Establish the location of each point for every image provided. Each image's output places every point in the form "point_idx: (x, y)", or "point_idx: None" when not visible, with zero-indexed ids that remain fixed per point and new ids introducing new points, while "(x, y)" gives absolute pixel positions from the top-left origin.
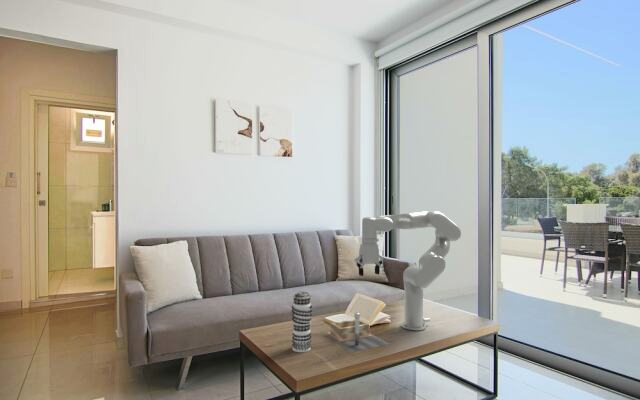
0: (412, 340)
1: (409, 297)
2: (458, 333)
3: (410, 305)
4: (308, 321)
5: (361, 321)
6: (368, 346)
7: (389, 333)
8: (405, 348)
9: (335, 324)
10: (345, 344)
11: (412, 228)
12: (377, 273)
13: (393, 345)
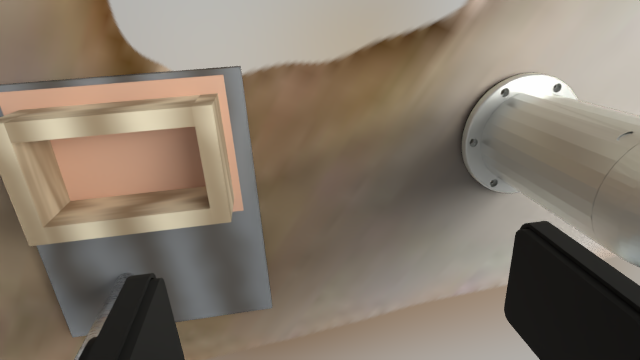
0: (392, 272)
1: (600, 233)
2: (601, 257)
3: (560, 212)
4: None
5: (208, 162)
6: (171, 307)
7: (354, 176)
8: (316, 328)
9: (13, 163)
10: (72, 267)
11: None
12: (512, 311)
13: (290, 296)
